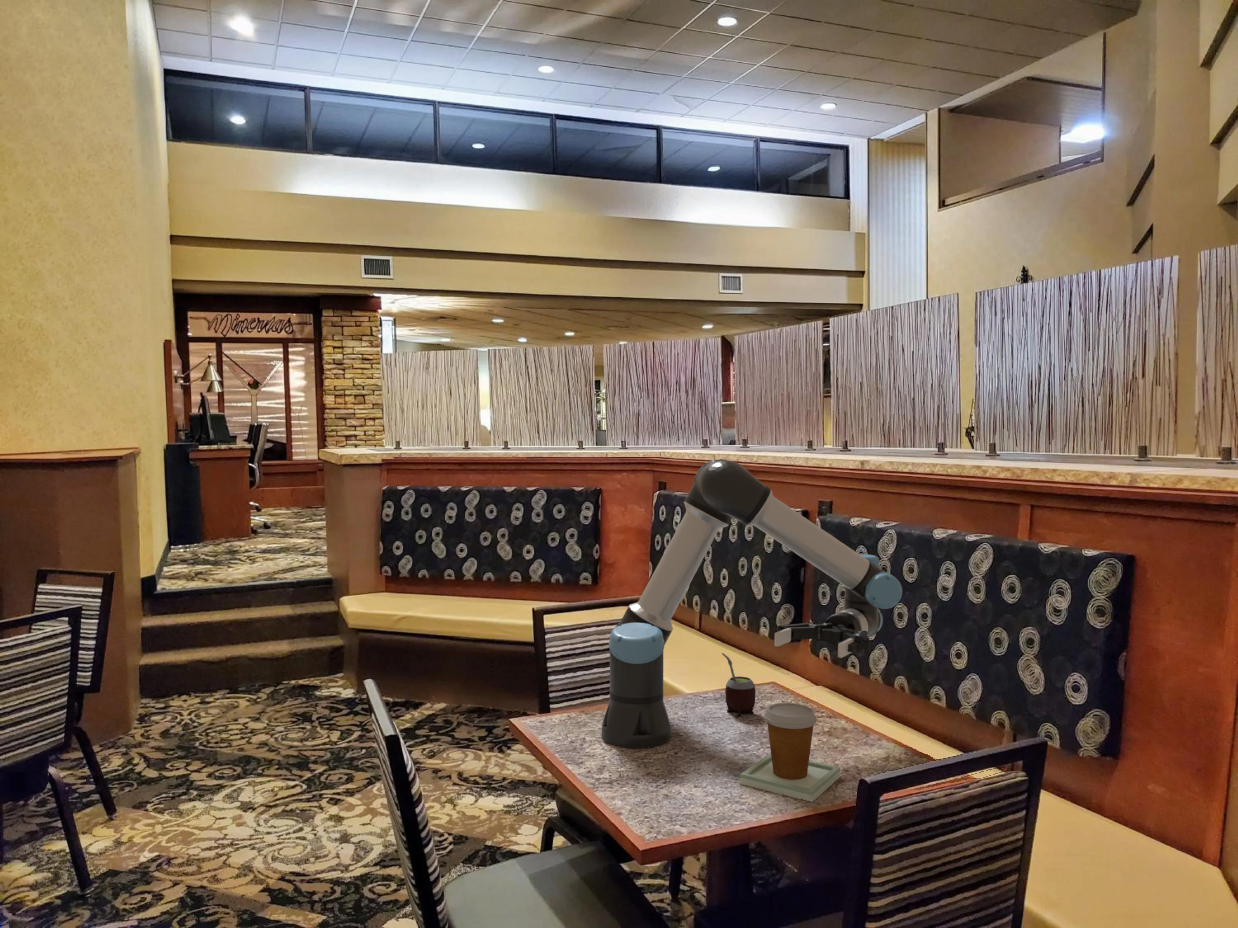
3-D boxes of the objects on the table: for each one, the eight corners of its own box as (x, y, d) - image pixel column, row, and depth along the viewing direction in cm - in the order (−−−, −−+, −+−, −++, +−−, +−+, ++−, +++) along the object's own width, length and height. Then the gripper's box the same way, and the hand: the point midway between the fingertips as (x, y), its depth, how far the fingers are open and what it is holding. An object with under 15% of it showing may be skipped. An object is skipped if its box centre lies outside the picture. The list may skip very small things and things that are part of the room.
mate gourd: (756, 709, 197) (756, 647, 197) (754, 719, 189) (754, 654, 189) (725, 707, 198) (725, 645, 198) (721, 717, 191) (721, 653, 191)
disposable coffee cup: (816, 785, 149) (817, 719, 149) (763, 780, 151) (763, 715, 151) (815, 765, 158) (815, 703, 158) (765, 761, 160) (765, 700, 160)
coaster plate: (740, 783, 153) (740, 773, 153) (772, 760, 164) (772, 751, 164) (811, 802, 144) (812, 791, 144) (840, 776, 156) (840, 767, 156)
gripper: (901, 654, 176) (867, 674, 158) (792, 636, 190) (750, 653, 173) (902, 619, 175) (869, 636, 158) (793, 604, 190) (751, 617, 173)
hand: (807, 645), depth 166 cm, fingers open, 13 cm apart
